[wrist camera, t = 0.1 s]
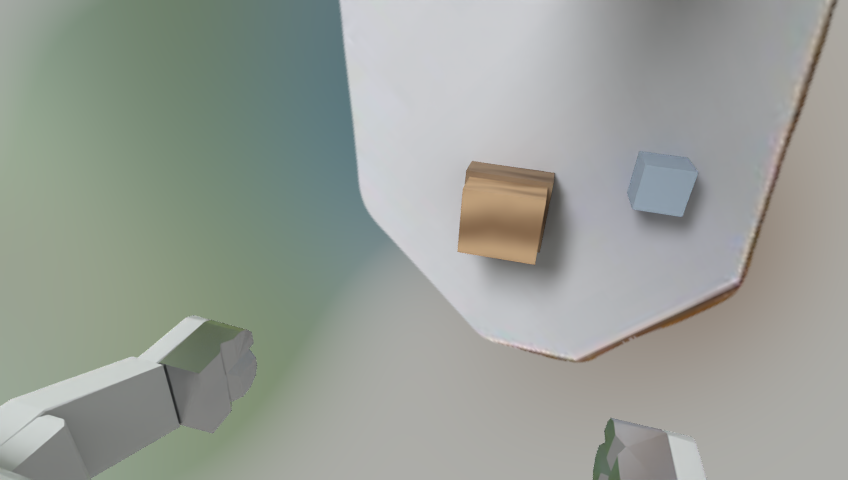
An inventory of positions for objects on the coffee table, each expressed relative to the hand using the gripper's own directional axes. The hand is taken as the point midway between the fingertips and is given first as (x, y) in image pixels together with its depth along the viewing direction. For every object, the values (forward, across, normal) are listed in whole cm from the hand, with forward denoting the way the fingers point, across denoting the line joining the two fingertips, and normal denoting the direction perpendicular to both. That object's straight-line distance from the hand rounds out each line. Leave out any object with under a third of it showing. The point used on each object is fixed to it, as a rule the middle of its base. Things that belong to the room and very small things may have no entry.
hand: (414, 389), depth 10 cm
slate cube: (+48, -15, +9) cm, 51 cm away
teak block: (+44, +1, +15) cm, 47 cm away
